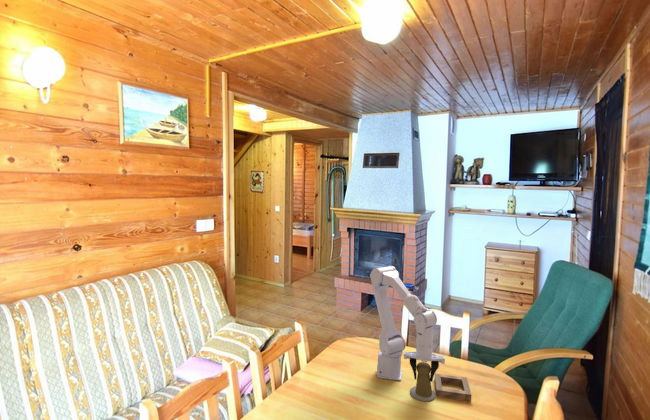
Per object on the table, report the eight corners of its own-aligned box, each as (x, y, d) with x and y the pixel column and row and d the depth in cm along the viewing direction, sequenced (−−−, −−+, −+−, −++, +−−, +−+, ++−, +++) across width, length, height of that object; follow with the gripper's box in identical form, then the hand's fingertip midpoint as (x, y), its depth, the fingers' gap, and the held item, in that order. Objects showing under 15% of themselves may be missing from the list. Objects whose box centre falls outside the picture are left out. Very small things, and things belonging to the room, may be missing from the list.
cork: (432, 398, 131) (432, 368, 130) (415, 395, 132) (415, 367, 132) (431, 388, 137) (431, 360, 136) (415, 386, 138) (415, 359, 137)
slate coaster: (410, 399, 131) (410, 397, 131) (410, 386, 140) (410, 384, 140) (435, 403, 129) (435, 401, 129) (434, 389, 138) (434, 387, 138)
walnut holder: (436, 396, 133) (436, 389, 133) (434, 379, 145) (434, 373, 145) (471, 401, 131) (471, 394, 130) (466, 383, 142) (466, 377, 142)
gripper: (404, 345, 131) (403, 382, 132) (446, 350, 127) (444, 387, 128) (404, 337, 138) (403, 372, 139) (444, 342, 134) (443, 377, 135)
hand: (423, 379), depth 134 cm, fingers closed on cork, 5 cm apart
